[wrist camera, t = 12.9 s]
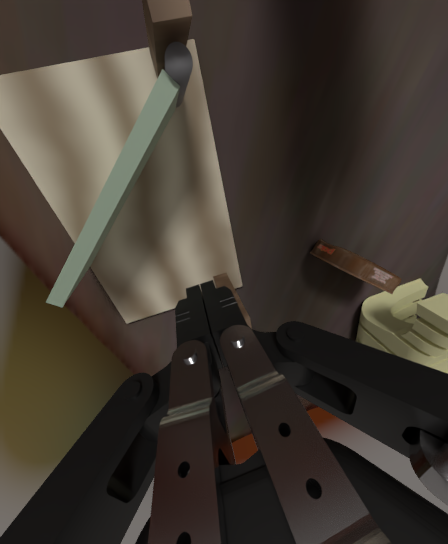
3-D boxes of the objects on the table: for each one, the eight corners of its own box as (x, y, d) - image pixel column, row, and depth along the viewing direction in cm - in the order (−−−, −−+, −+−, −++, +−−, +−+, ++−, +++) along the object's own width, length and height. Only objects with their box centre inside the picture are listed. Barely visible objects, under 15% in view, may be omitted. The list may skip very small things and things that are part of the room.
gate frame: (193, 43, 18) (220, -67, 9) (240, 283, 33) (270, 333, 24) (-23, 84, 17) (-252, -4, 7) (127, 319, 31) (111, 389, 22)
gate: (186, 95, 19) (198, 59, 12) (92, 266, 25) (62, 311, 17) (170, 80, 18) (174, 32, 11) (77, 260, 24) (40, 304, 17)
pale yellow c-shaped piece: (358, 268, 38) (488, 344, 22) (432, 242, 39) (600, 297, 24) (343, 364, 53) (414, 447, 38) (397, 343, 55) (484, 415, 40)
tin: (299, 247, 32) (336, 273, 25) (310, 229, 31) (354, 251, 24) (356, 275, 38) (400, 302, 31) (368, 261, 37) (415, 286, 30)
